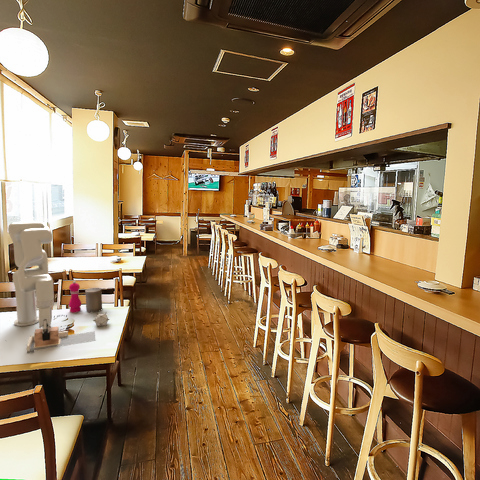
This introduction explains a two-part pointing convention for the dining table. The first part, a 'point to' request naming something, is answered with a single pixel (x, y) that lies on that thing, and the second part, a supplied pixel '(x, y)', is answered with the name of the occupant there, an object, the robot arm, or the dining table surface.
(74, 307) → the pepper mill
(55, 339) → the block
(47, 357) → the dining table surface
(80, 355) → the dining table surface
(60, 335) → the board
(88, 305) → the pillar candle
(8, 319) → the dining table surface
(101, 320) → the grey spiky ball
